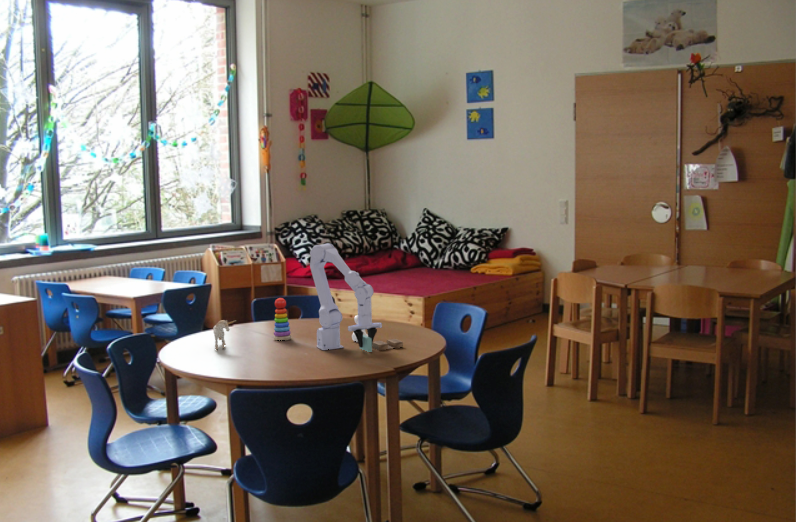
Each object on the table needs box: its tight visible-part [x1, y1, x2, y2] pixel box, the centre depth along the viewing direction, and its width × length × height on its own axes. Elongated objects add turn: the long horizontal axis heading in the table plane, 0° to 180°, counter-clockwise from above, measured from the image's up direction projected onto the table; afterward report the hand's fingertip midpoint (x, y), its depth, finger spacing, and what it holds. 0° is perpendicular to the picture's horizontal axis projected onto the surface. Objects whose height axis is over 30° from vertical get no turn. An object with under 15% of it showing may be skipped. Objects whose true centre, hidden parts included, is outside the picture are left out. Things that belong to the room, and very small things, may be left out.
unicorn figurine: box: [212, 319, 237, 351], centre depth 322 cm, size 7×20×13 cm, turn 33°
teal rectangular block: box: [359, 335, 373, 353], centre depth 313 cm, size 2×9×6 cm, turn 27°
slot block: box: [372, 338, 404, 351], centre depth 318 cm, size 11×7×2 cm, turn 117°
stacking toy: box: [273, 297, 292, 342], centre depth 338 cm, size 8×8×19 cm
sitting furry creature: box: [351, 314, 368, 343], centre depth 331 cm, size 10×9×12 cm
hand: (365, 346), depth 313 cm, fingers open, 4 cm apart
